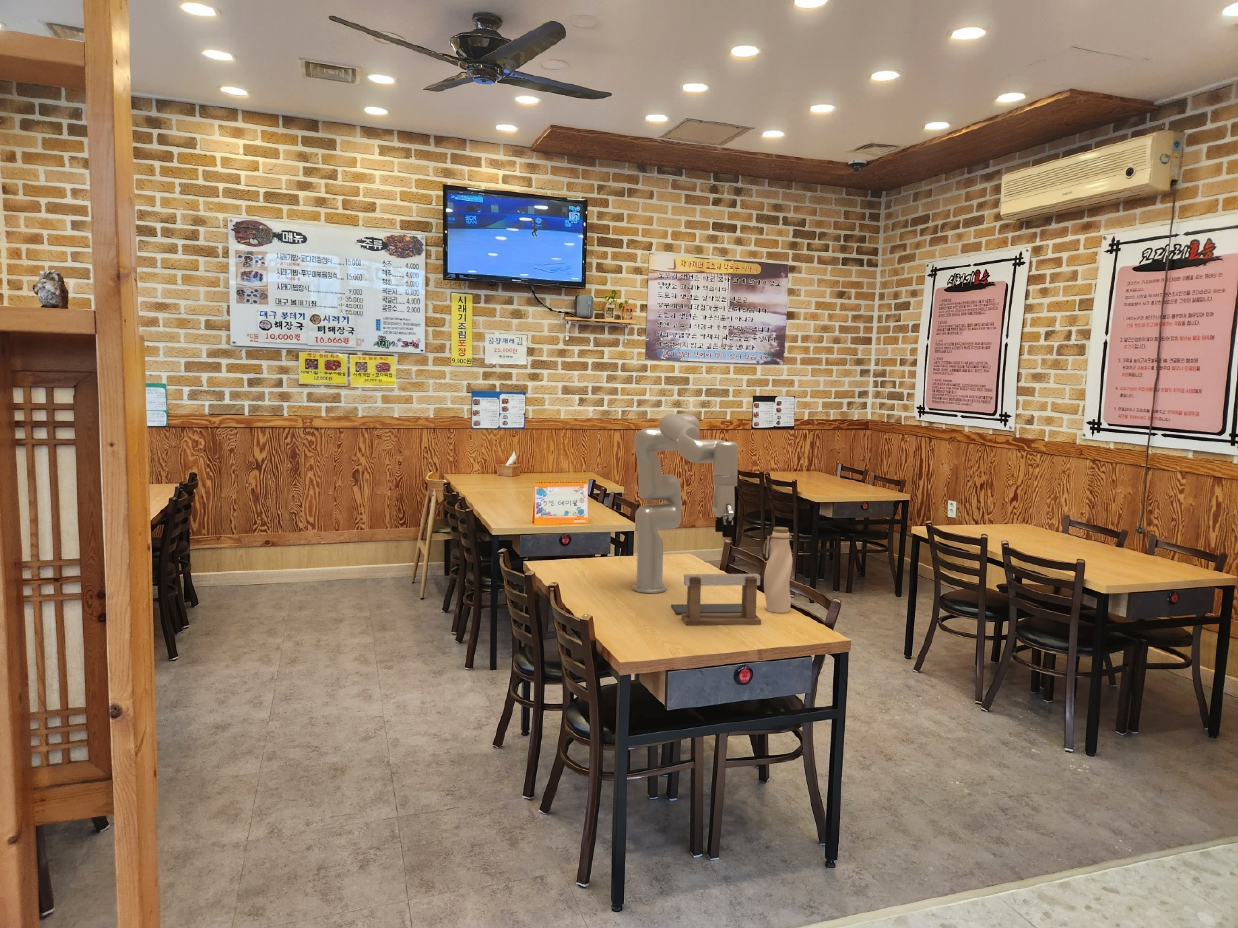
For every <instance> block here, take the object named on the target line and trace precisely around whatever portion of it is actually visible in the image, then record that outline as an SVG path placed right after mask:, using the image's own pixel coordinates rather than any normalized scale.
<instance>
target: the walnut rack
mask: <svg viewBox="0 0 1238 928" xmlns="http://www.w3.org/2000/svg"><path fill="white" fill-rule="evenodd" d="M686 587H687V593H686V594H687V595H686V597H687V598H686V604H687V614H682V615H681V620H682V621H683V623H684V624H685V626H731V625H732V626H737V625H738V626H740V625H741V626H742V625H746V626H747V625H752V626H753V625H761V624H762V619H761V618H760V617H759V616H758V615H757V595H758V594H757V592H758V591H757V590H758V585H757V578H747V585H741V604H742V611H741V613H700V604H701V596H702V595H701V594H702V593H701V592H702V588H701V587H702V586H701V579H700V578H693V579H691V586H686Z"/></svg>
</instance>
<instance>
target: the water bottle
mask: <svg viewBox="0 0 1238 928" xmlns="http://www.w3.org/2000/svg"><path fill="white" fill-rule="evenodd" d="M792 538H793V536H792V535H791V534H790V532H789V527H783V526H775V527H773V531H772V534H770V536H769V535H767V539H766V540H765V541H764V543H763V547H762V550H763V551H762V552H763V555H765V558H766V559H768V560H767V563H766V565H765V566H766V567H765V569H764V575H763V591H764V596H765V597H764V598H765V603H766V611H768V612H769V613H770V612H771V613H774V614H776V613H777V614H786V613H789V612H791V604H792V603H791V602H792V600H791V599H792V597H791V592H790V591H791V590H790V581H791V575H792V570H793V554H792V549H791V545H790V539H792Z"/></svg>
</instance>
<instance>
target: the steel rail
mask: <svg viewBox="0 0 1238 928" xmlns="http://www.w3.org/2000/svg"><path fill="white" fill-rule="evenodd" d="M693 578H700V579H701V587H703V586H705V587H707V586H709V587H711V586H713V587H716V586H719V587H720V586H721V587H722V586H724V587H725V586H742V585H747V578H757V586H760V585H761V575H760V574H758V573H703V574H701V573H699V574H698V573H693V574H692V573H691V574H686V573H685V574H684V575H683V584H684V586H685V587H687V586H691V579H693Z"/></svg>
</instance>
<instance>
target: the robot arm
mask: <svg viewBox="0 0 1238 928" xmlns="http://www.w3.org/2000/svg"><path fill="white" fill-rule="evenodd" d="M700 430H701V424H700V420H699V419H698V418H697V417H696V416H695V415H693V414H688V413H671V414H666V415H664V416H662V417H661V418H660V420H659V422H658V427H648V428H647V427H645V428H643V429H640V430H638V432H637V433H636V435H635V437H634V441H633V442H634V444H633V445H634V446H633V447H634V453H635V456H636V461H637V479H638V482H637V483H638V494H639V497H640V498H641V499H642V500H643V501H647V502H649V501H650V502H651V501H663V502H664V503H654V504H653V503H652V504H651V503H649V504H644V505H641V506H639V507H638V508H637V509H636V511H635V514H634V515H635V517H634V518H635V519H634V520H635V527H636V532H637V533H636V536H637V540H636V541H637V546H636V547H637V548H636V549H637V550H636V551H637V554H636V555H637V556H636V557H637V558H636V583H634V584H633V585H632V590H633V591H635V592H638V593H643V594H658V593H664V592H666V591H667V585H665V584H663V577H664V570H663V567H664V540H663V538H662V537H661V535H660V533H659V532H658V531H663V530H674V529H677V528H678V527H679V526H680V525H681V522H682V516H683V515H682V488H681V483H680V480H679V479H678V477H677V476H676V475H674V474H670V473H668V474H667V473H665V474H662V462H661V459H660V458H659V456H658V455H657V453H656V452H676V451H677V452H678V454H679V456H681V457H682V458H683V459H685V460H686V461H688V462H691V463H693V464H713V472H712V473H713V476H712V477H713V478H712V479H713V480H712V485H713V486H714V490H713V504H712V514H713V515H714V516H715V522H714V523H715V524H714V525H715V527H714V530H715V532H716V533H722V538H734V517H735V511H736V510H735V509H736V508H735V505H736V504H735V502H736V501H735V500H736V498H735V495H736V494H735V487H737V486H738V468H739V461H738V459H739V444H737V442H735V441H729V440H728V441H727V440H722V439H700V435H701V434H700Z"/></svg>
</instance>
